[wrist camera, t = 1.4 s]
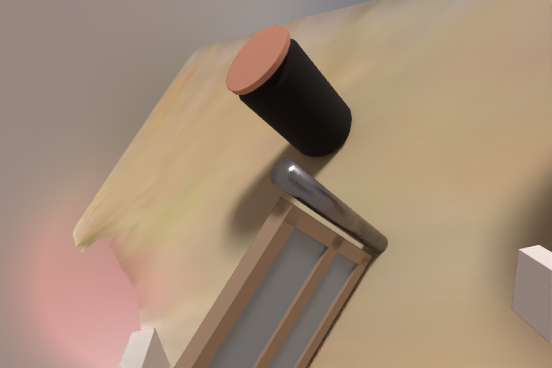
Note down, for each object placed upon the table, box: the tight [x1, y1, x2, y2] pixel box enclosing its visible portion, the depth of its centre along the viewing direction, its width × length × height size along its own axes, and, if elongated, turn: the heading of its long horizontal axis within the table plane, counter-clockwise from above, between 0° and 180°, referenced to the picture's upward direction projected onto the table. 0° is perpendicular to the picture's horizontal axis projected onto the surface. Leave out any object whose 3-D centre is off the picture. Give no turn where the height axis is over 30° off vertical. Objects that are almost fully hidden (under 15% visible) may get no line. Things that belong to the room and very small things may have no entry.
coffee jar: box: [226, 25, 352, 157], centre depth 46 cm, size 11×11×18 cm
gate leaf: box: [174, 197, 372, 368], centre depth 31 cm, size 23×2×16 cm, turn 138°
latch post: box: [271, 159, 388, 253], centre depth 32 cm, size 2×2×19 cm
